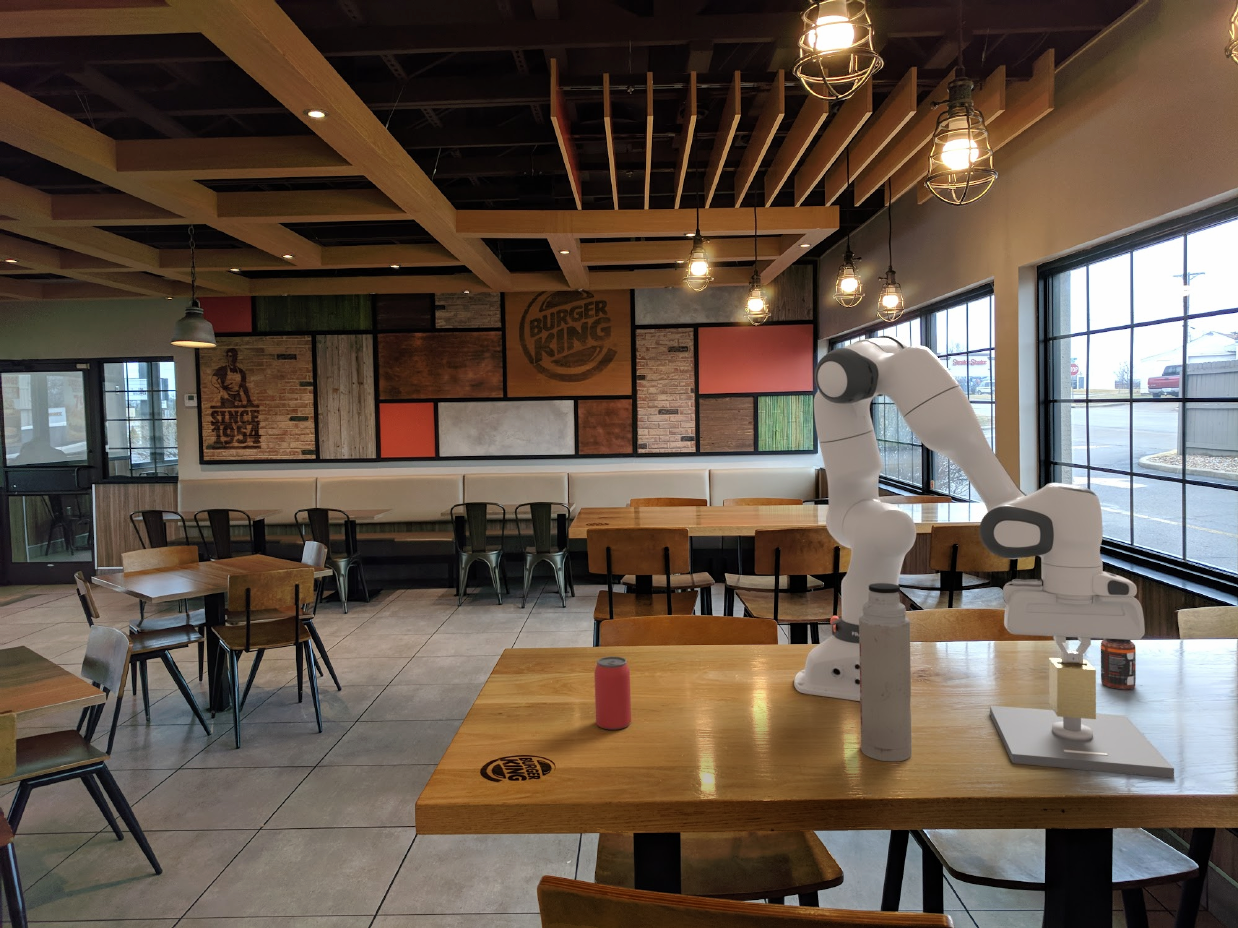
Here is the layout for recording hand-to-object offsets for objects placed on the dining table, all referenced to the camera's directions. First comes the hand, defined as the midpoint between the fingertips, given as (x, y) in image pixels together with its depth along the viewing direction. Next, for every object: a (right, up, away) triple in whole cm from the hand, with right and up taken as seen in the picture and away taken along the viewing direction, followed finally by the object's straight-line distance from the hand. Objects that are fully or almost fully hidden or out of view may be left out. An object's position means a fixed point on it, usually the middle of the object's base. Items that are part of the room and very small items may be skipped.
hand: (1072, 662), depth 129 cm
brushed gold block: (0, -8, 0) cm, 8 cm away
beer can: (-77, -16, +14) cm, 80 cm away
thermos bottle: (-32, -15, -1) cm, 35 cm away
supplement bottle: (+25, -12, +27) cm, 39 cm away
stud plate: (0, -14, +1) cm, 14 cm away
